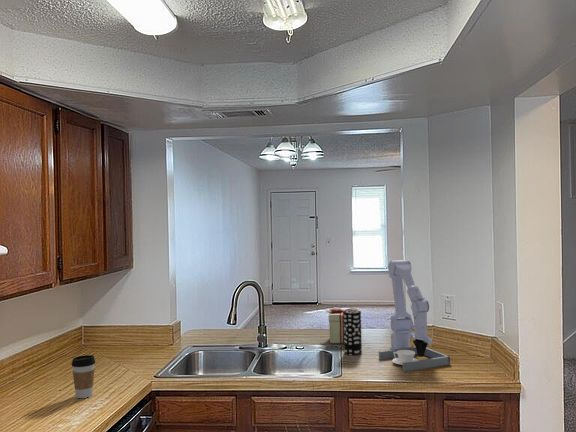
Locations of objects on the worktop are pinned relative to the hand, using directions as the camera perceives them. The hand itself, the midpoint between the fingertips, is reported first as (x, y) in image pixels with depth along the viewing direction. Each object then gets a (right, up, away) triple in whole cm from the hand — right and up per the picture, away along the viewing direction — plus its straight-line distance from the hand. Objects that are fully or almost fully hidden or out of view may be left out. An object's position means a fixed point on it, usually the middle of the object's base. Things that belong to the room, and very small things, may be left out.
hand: (421, 356), depth 224 cm
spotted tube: (-29, -3, +15) cm, 33 cm away
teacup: (-8, -2, -4) cm, 9 cm away
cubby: (-4, -2, -2) cm, 5 cm away
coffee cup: (-138, -5, -36) cm, 143 cm away
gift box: (-31, -3, +41) cm, 51 cm away
